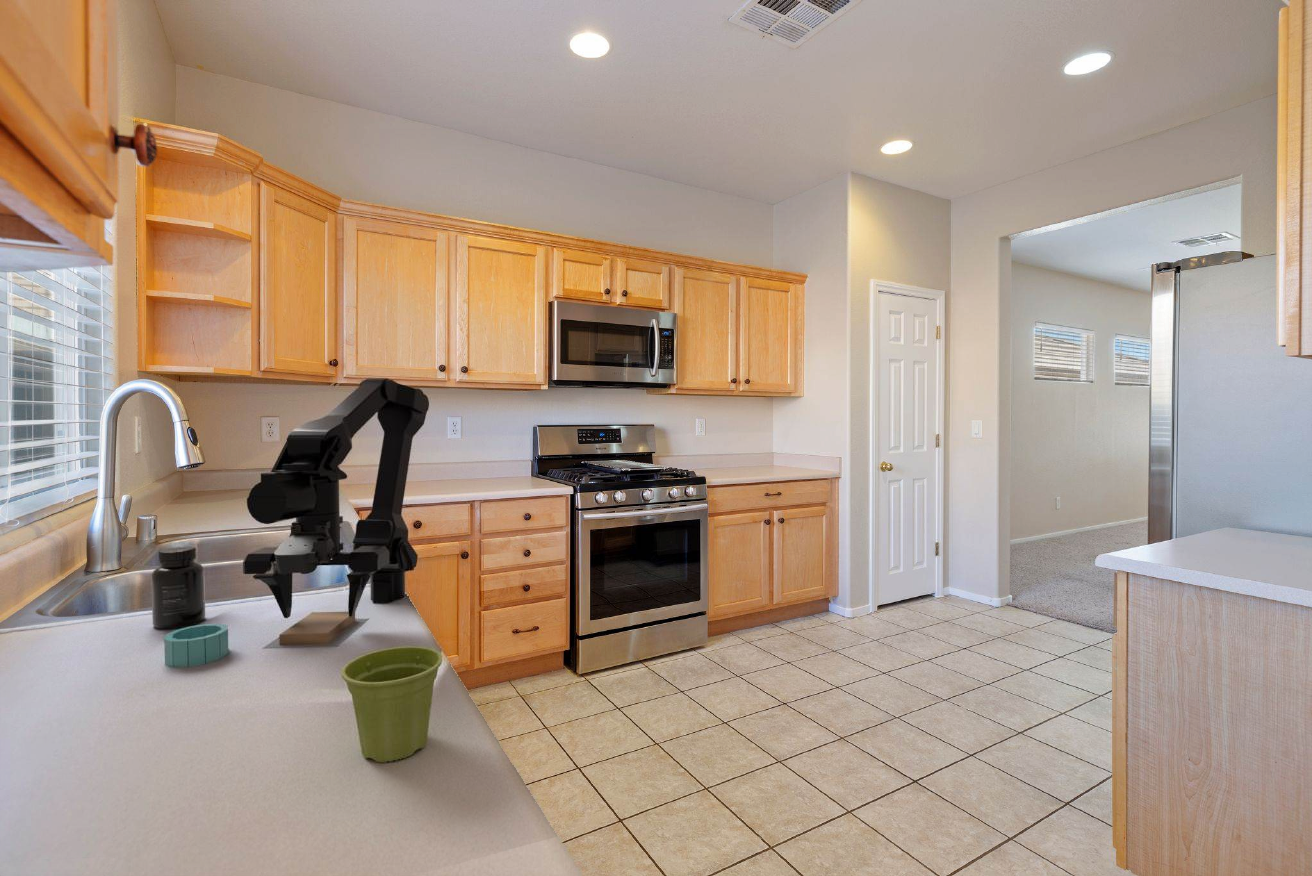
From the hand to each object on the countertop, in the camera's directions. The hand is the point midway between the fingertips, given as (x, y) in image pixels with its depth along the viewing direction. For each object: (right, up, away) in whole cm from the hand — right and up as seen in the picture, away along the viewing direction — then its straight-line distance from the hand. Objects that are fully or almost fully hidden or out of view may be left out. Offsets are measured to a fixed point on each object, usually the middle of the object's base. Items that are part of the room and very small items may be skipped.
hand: (319, 616), depth 93 cm
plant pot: (+24, -5, -30) cm, 39 cm away
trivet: (0, -4, 0) cm, 4 cm away
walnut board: (0, -2, 0) cm, 2 cm away
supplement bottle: (-27, -3, +8) cm, 28 cm away
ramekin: (-11, -4, -9) cm, 15 cm away
